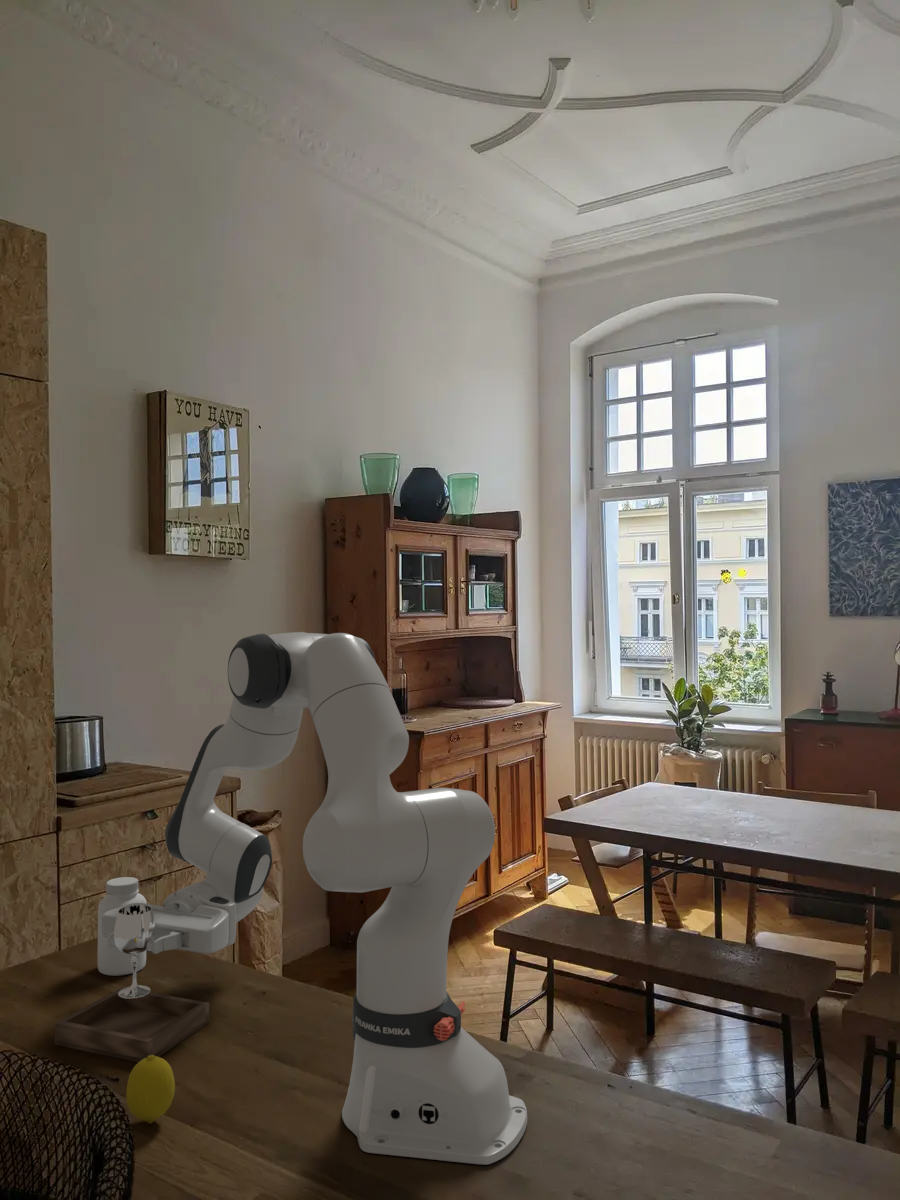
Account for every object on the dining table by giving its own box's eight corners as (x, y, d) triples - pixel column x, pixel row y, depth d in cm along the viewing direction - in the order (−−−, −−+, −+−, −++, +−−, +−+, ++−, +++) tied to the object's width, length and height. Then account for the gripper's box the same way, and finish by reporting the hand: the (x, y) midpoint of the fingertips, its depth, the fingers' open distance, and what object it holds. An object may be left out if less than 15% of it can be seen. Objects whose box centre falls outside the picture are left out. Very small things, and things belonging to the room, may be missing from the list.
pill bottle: (87, 975, 159) (89, 886, 160) (112, 958, 167) (113, 873, 167) (131, 978, 158) (132, 888, 158) (154, 961, 166) (155, 875, 166)
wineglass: (163, 989, 138) (164, 908, 138) (131, 1003, 134) (131, 919, 134) (137, 981, 142) (137, 901, 142) (104, 994, 137) (105, 911, 137)
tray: (209, 1023, 141) (209, 1002, 141) (147, 1064, 128) (147, 1041, 128) (122, 1006, 146) (122, 987, 147) (54, 1044, 133) (55, 1023, 133)
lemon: (157, 1106, 117) (157, 1040, 117) (183, 1121, 113) (184, 1054, 114) (116, 1124, 113) (117, 1056, 113) (143, 1140, 109) (143, 1071, 109)
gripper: (136, 888, 153) (74, 913, 140) (244, 903, 146) (189, 931, 133) (136, 927, 153) (73, 956, 140) (243, 944, 146) (188, 976, 133)
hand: (130, 944), depth 137 cm, fingers closed on wineglass, 6 cm apart
